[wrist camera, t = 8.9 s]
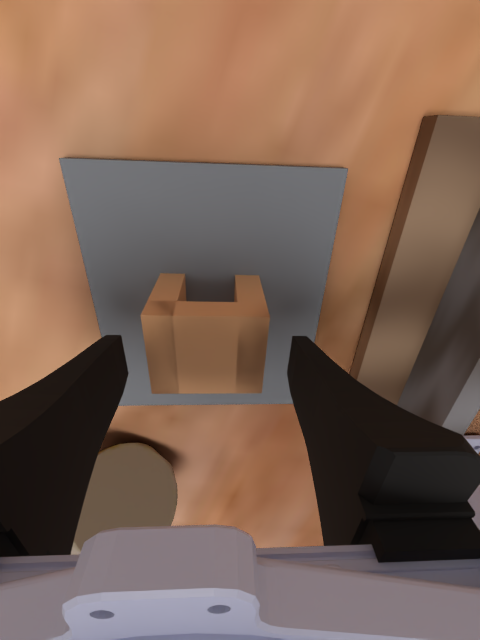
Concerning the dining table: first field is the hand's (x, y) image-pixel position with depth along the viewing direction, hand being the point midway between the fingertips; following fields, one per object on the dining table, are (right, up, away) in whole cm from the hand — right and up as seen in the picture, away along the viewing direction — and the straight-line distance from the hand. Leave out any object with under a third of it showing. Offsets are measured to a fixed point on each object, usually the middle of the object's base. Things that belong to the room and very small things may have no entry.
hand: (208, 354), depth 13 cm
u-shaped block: (0, +2, +3) cm, 4 cm away
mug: (-8, -11, +12) cm, 18 cm away
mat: (0, +2, +4) cm, 4 cm away
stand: (+13, +2, +5) cm, 14 cm away
